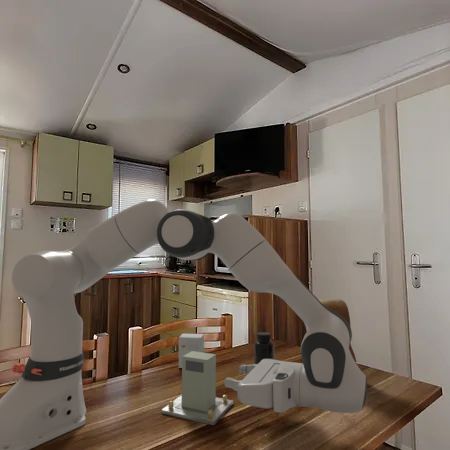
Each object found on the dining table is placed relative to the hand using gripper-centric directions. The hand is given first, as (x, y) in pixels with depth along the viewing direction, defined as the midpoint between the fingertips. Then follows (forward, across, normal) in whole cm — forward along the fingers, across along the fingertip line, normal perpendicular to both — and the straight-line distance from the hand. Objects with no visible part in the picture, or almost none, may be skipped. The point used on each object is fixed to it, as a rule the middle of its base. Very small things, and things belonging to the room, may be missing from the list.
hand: (233, 374), depth 81 cm
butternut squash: (-20, -34, +10) cm, 40 cm away
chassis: (+9, 0, +9) cm, 13 cm away
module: (+9, 0, +8) cm, 12 cm away
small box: (+26, -27, +9) cm, 39 cm away
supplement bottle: (+2, -34, +10) cm, 35 cm away
